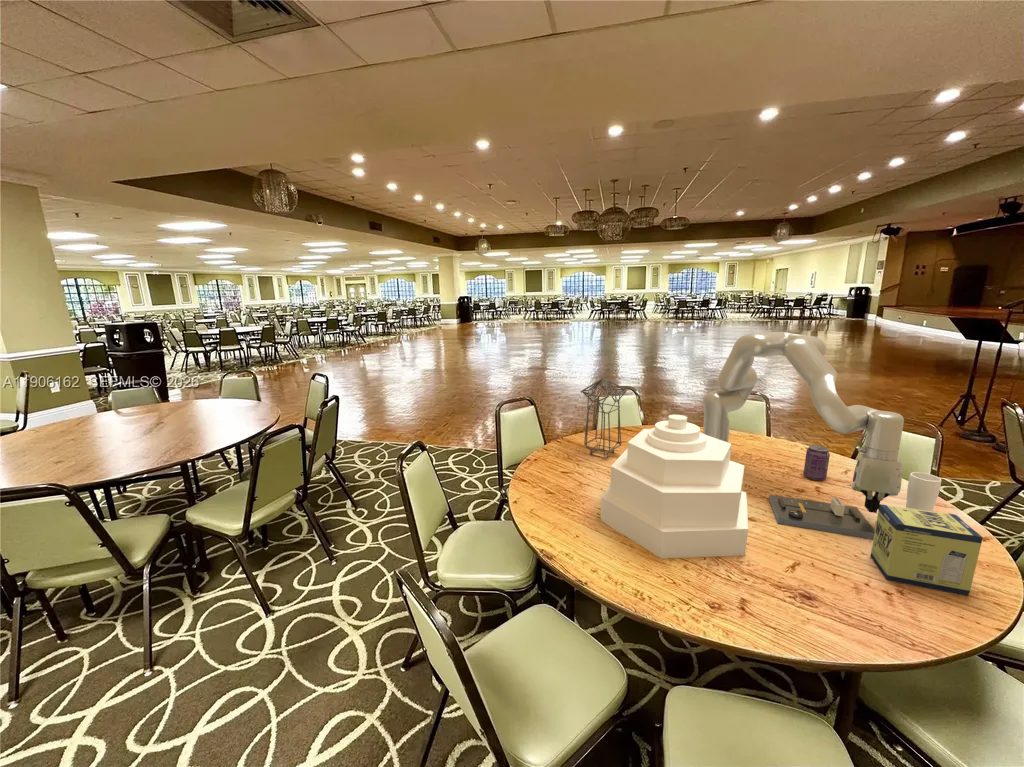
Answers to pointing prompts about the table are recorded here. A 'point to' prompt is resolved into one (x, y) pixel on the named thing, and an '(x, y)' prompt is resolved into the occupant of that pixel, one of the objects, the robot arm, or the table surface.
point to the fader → (837, 506)
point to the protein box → (925, 549)
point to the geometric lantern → (596, 385)
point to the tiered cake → (678, 493)
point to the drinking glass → (922, 491)
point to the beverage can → (816, 462)
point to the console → (820, 517)
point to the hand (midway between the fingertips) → (871, 510)
